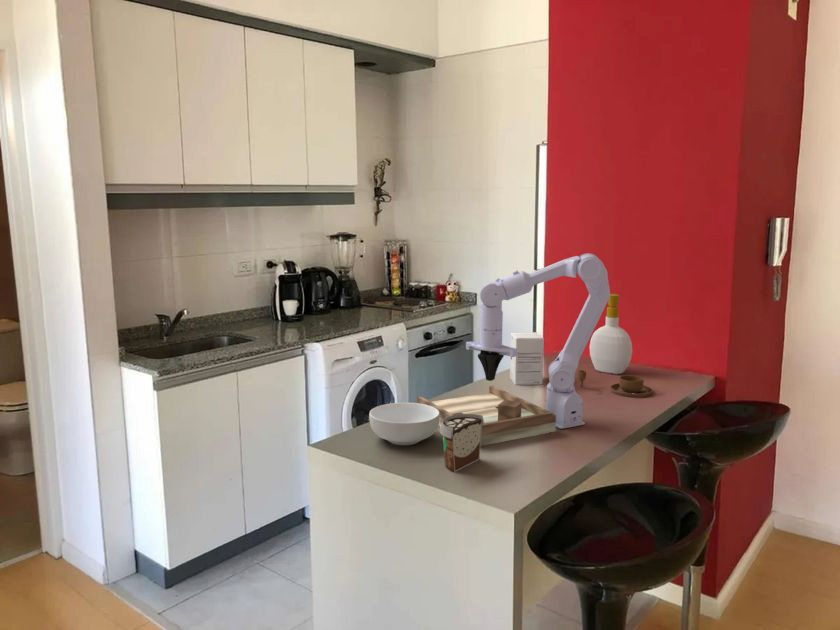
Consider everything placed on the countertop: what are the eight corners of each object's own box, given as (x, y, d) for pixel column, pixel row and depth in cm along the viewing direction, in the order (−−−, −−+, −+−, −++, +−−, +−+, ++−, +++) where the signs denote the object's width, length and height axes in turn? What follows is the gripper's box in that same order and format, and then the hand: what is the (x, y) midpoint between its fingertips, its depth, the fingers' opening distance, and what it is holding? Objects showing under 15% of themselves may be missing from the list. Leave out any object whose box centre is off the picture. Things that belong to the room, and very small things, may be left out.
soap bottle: (635, 372, 230) (640, 294, 225) (625, 377, 223) (630, 298, 218) (595, 365, 238) (598, 290, 234) (584, 370, 231) (587, 293, 227)
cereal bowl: (451, 435, 170) (452, 408, 169) (417, 457, 156) (417, 427, 154) (393, 423, 178) (393, 397, 177) (355, 443, 164) (355, 415, 163)
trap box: (555, 431, 172) (556, 412, 172) (472, 447, 162) (473, 427, 161) (492, 400, 198) (492, 383, 197) (417, 412, 187) (417, 394, 186)
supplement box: (509, 377, 223) (510, 332, 220) (536, 377, 223) (538, 331, 221) (514, 385, 214) (515, 337, 211) (543, 384, 214) (544, 337, 212)
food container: (461, 451, 160) (461, 409, 158) (483, 457, 156) (484, 415, 154) (427, 467, 150) (427, 423, 148) (450, 474, 146) (450, 429, 145)
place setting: (634, 404, 197) (635, 384, 196) (573, 390, 211) (574, 371, 210) (662, 392, 209) (664, 373, 208) (604, 379, 223) (604, 361, 222)
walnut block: (520, 419, 174) (521, 402, 173) (515, 424, 170) (515, 407, 169) (504, 416, 176) (504, 399, 175) (497, 421, 172) (498, 404, 171)
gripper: (523, 330, 178) (522, 381, 180) (476, 323, 186) (475, 372, 189) (509, 334, 172) (507, 387, 174) (461, 327, 181) (461, 377, 183)
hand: (490, 379), depth 181 cm, fingers closed
